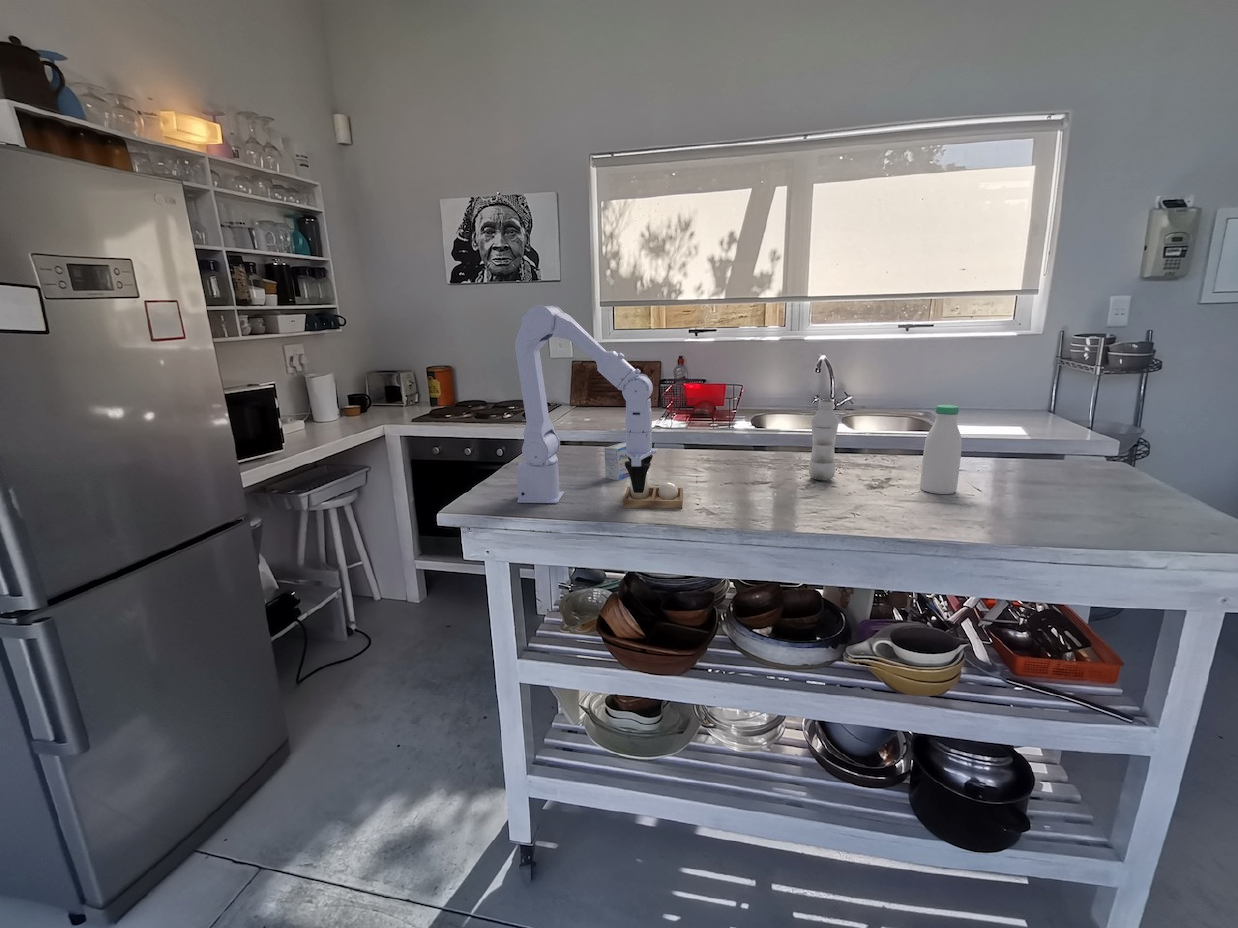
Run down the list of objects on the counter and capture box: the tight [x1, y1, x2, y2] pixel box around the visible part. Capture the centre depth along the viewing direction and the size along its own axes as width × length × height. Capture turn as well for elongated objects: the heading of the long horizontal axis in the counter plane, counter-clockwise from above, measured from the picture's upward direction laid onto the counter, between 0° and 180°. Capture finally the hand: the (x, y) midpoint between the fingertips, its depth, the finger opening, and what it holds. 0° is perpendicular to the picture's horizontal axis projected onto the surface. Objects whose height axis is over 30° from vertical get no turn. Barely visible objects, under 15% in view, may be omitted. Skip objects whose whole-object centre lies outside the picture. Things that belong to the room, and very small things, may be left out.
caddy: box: [622, 486, 684, 510], centre depth 138 cm, size 13×10×2 cm
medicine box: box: [604, 441, 630, 481], centre depth 158 cm, size 8×4×9 cm, turn 143°
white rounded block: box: [629, 470, 650, 500], centre depth 137 cm, size 4×4×6 cm
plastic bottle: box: [808, 399, 840, 481], centre depth 151 cm, size 6×7×20 cm
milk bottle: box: [919, 404, 963, 495], centre depth 140 cm, size 8×8×20 cm
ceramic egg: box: [659, 481, 678, 500], centre depth 137 cm, size 4×4×4 cm
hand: (639, 489), depth 138 cm, fingers closed on white rounded block, 4 cm apart
